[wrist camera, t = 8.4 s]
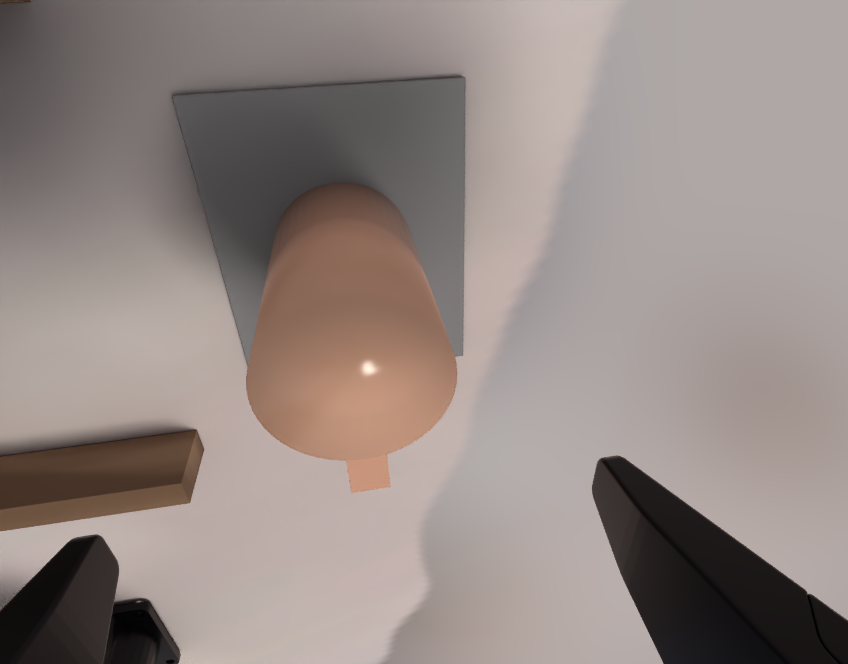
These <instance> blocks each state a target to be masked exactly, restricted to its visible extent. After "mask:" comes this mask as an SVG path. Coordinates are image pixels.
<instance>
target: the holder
mask: <svg viewBox="0 0 848 664" xmlns="http://www.w3.org/2000/svg"><path fill="white" fill-rule="evenodd" d="M15 2H31V1H30V0H0V3H15ZM203 452H204V448H203V445H202V443H201V440H200V437H199V435H198V432H197V430H195V431H187V432H180V433H172V434H165V435H157V436H150V437H143V438H135V439H128V440H120V441H113V442H105V443H98V444H90V445H83V446H75V447H68V448H61V449H53V450H46V451H38V452H31V453H23V454H16V455H8V456H1V457H0V531H6V530H13V529H19V528H26V527H33V526H39V525H46V524H53V523H59V522H66V521H73V520H80V519H86V518H93V517H100V516H106V515H113V514H120V513H126V512H133V511H140V510H146V509H153V508H160V507H167V506H173V505H180V504H187V503H190V501H191V497H192V493H193V489H194V486H195V482H196V478H197V474H198V471H199V467H200V463H201V459H202V455H203Z"/></svg>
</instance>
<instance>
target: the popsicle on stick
mask: <svg viewBox="0 0 848 664" xmlns="http://www.w3.org/2000/svg"><path fill="white" fill-rule="evenodd" d="M456 383H457V364H456V359H455V355H454V352H453V349H452V346H451V344H450V341H449V338H448V335H447V333H446V330H445V327H444V324H443V321H442V319H441V316H440V313H439V310H438V308H437V305H436V302H435V299H434V297H433V294H432V291H431V288H430V286H429V283H428V280H427V277H426V274H425V272H424V269H423V266H422V263H421V261H420V258H419V255H418V252H417V250H416V247H415V244H414V241H413V239H412V236H411V233H410V230H409V228H408V225H407V223H406V220H405V219H404V217H403V215H402V214H401V212H400V211H399V209H398V208H397V207H396V206H395V205H394V204H393V203H392V202H391V201H390V200H389V199H388V198H386V197H385V196H384V195H382V194H381V193H379V192H377V191H375V190H373V189H371V188H368V187H366V186H363V185H358V184H354V183H331V184H325V185H322V186H318V187H315V188H313V189H311V190H309V191H307V192H305V193H304V194H302V195H300V196H299V197H298V198H297V199H295V200H294V201H293V202H292V203H291V204H290V205H289V206H288V208H287V209H286V210H285V212H284V213H283V215H282V216H281V219H280V221H279V223H278V226H277V229H276V232H275V237H274V242H273V247H272V252H271V257H270V261H269V266H268V271H267V276H266V281H265V286H264V291H263V296H262V301H261V305H260V310H259V315H258V320H257V325H256V330H255V335H254V340H253V344H252V349H251V354H250V359H249V364H248V370H247V376H246V390H247V395H248V400H249V403H250V405H251V408H252V410H253V412H254V414H255V416H256V417H257V419H258V421H259V422H260V423H261V424H262V426H263V427H264V428H265V429H266V430H267V431H268V432H269V433H270V434H271V435H272V436H273V437H275V438H276V439H278V440H279V441H280V442H282V443H283V444H285V445H287V446H289V447H290V448H292V449H294V450H297V451H299V452H302V453H304V454H307V455H311V456H314V457H319V458H324V459H331V460H346V462H347V468H348V474H349V479H350V485H351V491H352V493H354V492H361V491H367V490H374V489H381V488H387V487H390V478H389V469H388V459H387V454H389V453H391V452H394V451H397V450H399V449H401V448H403V447H405V446H407V445H409V444H411V443H413V442H414V441H416V440H417V439H419V438H420V437H422V436H423V435H424V434H426V433H427V432H428V431H429V430H430V429H431V428H432V427H433V426H434V425H435V424H436V423H437V422H438V421H439V420H440V418H441V417H442V416H443V415H444V413H445V412H446V410H447V408H448V406H449V405H450V403H451V400H452V398H453V395H454V392H455V388H456Z"/></svg>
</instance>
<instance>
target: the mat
mask: <svg viewBox="0 0 848 664" xmlns="http://www.w3.org/2000/svg"><path fill="white" fill-rule="evenodd" d="M465 82H466V78H465V77H453V78H437V79H421V80H405V81H389V82H373V83H357V84H341V85H325V86H309V87H293V88H277V89H261V90H245V91H229V92H214V93H198V94H182V95H174V96H172V98H173V102H174V105H175V109H176V112H177V116H178V119H179V123H180V127H181V130H182V134H183V137H184V141H185V144H186V148H187V151H188V155H189V158H190V162H191V165H192V169H193V172H194V176H195V180H196V183H197V187H198V190H199V194H200V197H201V201H202V204H203V208H204V211H205V215H206V218H207V222H208V225H209V229H210V232H211V236H212V240H213V243H214V247H215V250H216V254H217V257H218V261H219V264H220V268H221V271H222V275H223V278H224V282H225V285H226V289H227V293H228V296H229V300H230V303H231V307H232V310H233V314H234V317H235V321H236V324H237V328H238V331H239V335H240V338H241V342H242V345H243V349H244V353H245V356H246V360H247V363H248V364H249V359H250V354H251V349H252V344H253V340H254V335H255V330H256V325H257V320H258V315H259V310H260V305H261V301H262V296H263V291H264V286H265V281H266V276H267V271H268V266H269V261H270V257H271V252H272V247H273V242H274V237H275V232H276V229H277V226H278V223H279V221H280V219H281V216H282V215H283V213H284V212H285V210H286V209H287V208H288V206H289V205H290V204H291V203H292V202H293V201H294V200H295V199H297V198H298V197H299V196H300V195H302V194H304V193H305V192H307V191H309V190H311V189H313V188H315V187H318V186H322V185H325V184H331V183H354V184H358V185H363V186H366V187H368V188H371V189H373V190H375V191H377V192H379V193H381V194H382V195H384V196H385V197H386V198H388V199H389V200H390V201H391V202H392V203H393V204H394V205H395V206H396V207H397V208H398V209H399V211H400V212H401V214H402V215H403V217H404V219H405V220H406V223H407V225H408V228H409V230H410V233H411V236H412V239H413V241H414V244H415V247H416V250H417V252H418V255H419V258H420V261H421V263H422V266H423V269H424V272H425V274H426V277H427V280H428V283H429V286H430V288H431V291H432V294H433V297H434V299H435V302H436V305H437V308H438V310H439V313H440V316H441V319H442V321H443V324H444V327H445V330H446V333H447V335H448V338H449V341H450V344H451V346H452V349H453V352H454V355H455V357H456V356H463V317H464V199H465Z"/></svg>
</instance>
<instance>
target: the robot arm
mask: <svg viewBox="0 0 848 664" xmlns="http://www.w3.org/2000/svg"><path fill="white" fill-rule="evenodd" d="M592 494H593V498H594V501H595V504H596V506H597V509H598V512H599V515H600V518H601V521H602V523H603V526H604V529H605V532H606V534H607V537H608V540H609V543H610V545H611V548H612V551H613V554H614V557H615V560H616V562H617V565H618V567H619V570H620V573H621V575H622V577H623V580H624V582H625V584H626V586H627V588H628V590H629V593H630V595H631V596H632V599H633V601H634V603H635V605H636V607H637V609H638V611H639V613H640V615H641V617H642V620H643V621H644V624H645V626H646V628H647V630H648V632H649V634H650V636H651V638H652V640H653V642H654V644H655V647H656V648H657V650H658V653H659V655H660V657H661V659H662V661H663V663H664V664H848V620H847V619H845V618H844V617H842V616H841V615H840V614H838V613H837V612H835V611H834V610H832V609H831V608H829V607H828V606H827V605H826V604H824V603H823V602H821V601H820V600H819V599H817V598H816V597H815V596H813V595H812V594H807V592H806V590H805V589H803V588H802V587H800V586H799V585H798V584H797V583H795V582H794V581H792V580H791V579H789V578H788V577H787V576H785V575H784V574H783V573H781V572H780V571H779V570H777V569H776V568H775V567H773V566H772V565H770V564H769V563H767V562H766V561H765V560H764V559H762V558H761V557H759V556H758V555H757V554H755V553H754V552H752V551H751V550H750V549H748V548H747V547H746V546H744V545H743V544H742V543H740V542H739V541H737V540H736V539H735V538H733V537H732V536H730V535H729V534H728V533H726V532H725V531H724V530H722V529H721V528H720V527H718V526H717V525H715V524H714V523H713V522H711V521H710V520H709V519H707V518H706V517H705V516H703V515H702V514H700V513H699V512H698V511H696V510H695V509H693V508H692V507H691V506H689V505H688V504H686V503H685V502H684V501H682V500H681V499H680V498H678V497H677V496H676V495H674V494H673V493H671V492H670V491H669V490H667V489H666V488H665V487H663V486H662V485H661V484H659V483H658V482H656V481H655V480H654V479H652V478H651V477H650V476H648V475H647V474H645V473H644V472H643V471H641V470H640V469H638V468H637V467H636V466H634V465H633V464H632V463H630V462H629V461H627V460H626V459H625V458H623V457H621V456H611V457H604V458H601V459H599V461H598V463H597V466H596V470H595V475H594V480H593V485H592ZM118 576H119V565H118V562H117V559H116V558H115V556H114V555H113V553H112V551H111V550H110V548H109V547H108V545H107V544H106V542H105V540H104V539H103V538H102V537H101V536H99V535H89V536H82V537H77V538H74V539H72V540H70V541H69V542H68V543H67V544H66V545H65V546H64V547H63V548H62V549H61V550H60V551H59V552H58V553H57V554H56V555H55V556H54V557H53V558H52V559H51V560H50V561H49V562H48V563H47V564H46V565H45V566H44V567H43V568H42V569H41V570H40V571H39V572H38V573H37V574H36V575H35V576H34V577H33V578H32V579H31V580H30V581H29V582H28V583H27V584H26V585H25V586H24V587H23V588H22V589H21V590H20V591H19V592H18V593H17V594H16V595H15V596H14V597H13V599H12V600H11V601H10V602H9V603H8V604H7V605H6V606H5V607H4V608H3V609H2V610H1V611H0V664H178V663H179V660H180V655H181V654H180V652H179V650H178V649H177V647H176V646H175V644H174V642H173V641H172V639H171V637H170V636H169V634H168V633H167V631H166V629H165V628H164V626H163V624H162V623H161V621H160V620H159V618H158V616H157V615H156V613H155V611H154V610H153V608H152V607H151V605H150V604H148V603H144V602H138V603H132V604H126V605H121V606H115V607H113V605H114V599H115V593H116V588H117V582H118Z"/></svg>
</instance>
